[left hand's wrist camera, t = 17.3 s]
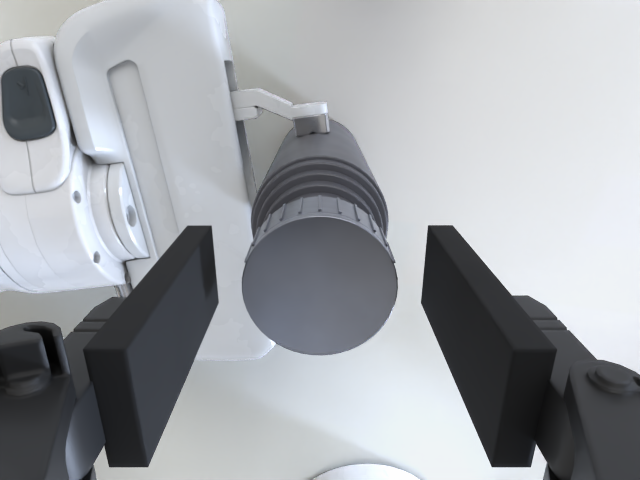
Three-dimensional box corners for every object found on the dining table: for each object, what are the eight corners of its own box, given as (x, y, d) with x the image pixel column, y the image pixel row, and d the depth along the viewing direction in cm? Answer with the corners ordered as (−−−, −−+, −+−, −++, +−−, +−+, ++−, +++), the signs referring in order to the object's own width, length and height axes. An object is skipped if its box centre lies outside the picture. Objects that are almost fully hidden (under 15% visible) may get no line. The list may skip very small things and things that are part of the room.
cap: (316, 163, 13) (316, 178, 11) (418, 259, 14) (433, 287, 13) (221, 264, 15) (206, 292, 13) (322, 345, 16) (322, 382, 14)
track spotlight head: (374, 171, 31) (447, 306, 13) (308, 212, 32) (294, 388, 14) (331, 101, 29) (350, 151, 12) (263, 147, 30) (186, 257, 13)
